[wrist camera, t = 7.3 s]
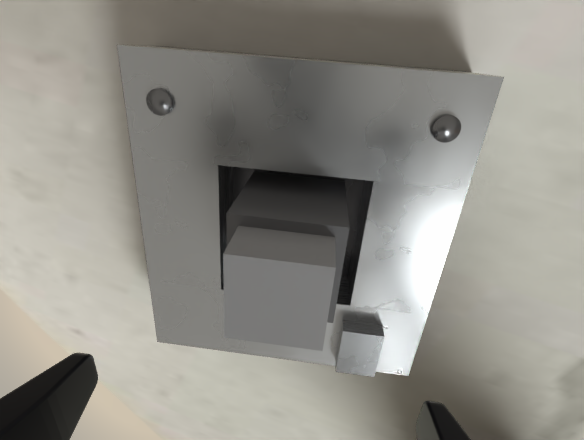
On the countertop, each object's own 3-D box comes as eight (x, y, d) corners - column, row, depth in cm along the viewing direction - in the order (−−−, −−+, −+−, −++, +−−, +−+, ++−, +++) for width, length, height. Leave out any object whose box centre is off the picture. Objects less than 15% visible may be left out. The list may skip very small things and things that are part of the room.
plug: (332, 258, 19) (333, 361, 13) (251, 249, 19) (212, 345, 13) (344, 181, 17) (352, 257, 11) (254, 171, 17) (208, 240, 11)
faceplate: (398, 335, 21) (411, 389, 18) (178, 306, 22) (150, 352, 19) (472, 72, 15) (514, 78, 11) (154, 46, 16) (104, 44, 12)
